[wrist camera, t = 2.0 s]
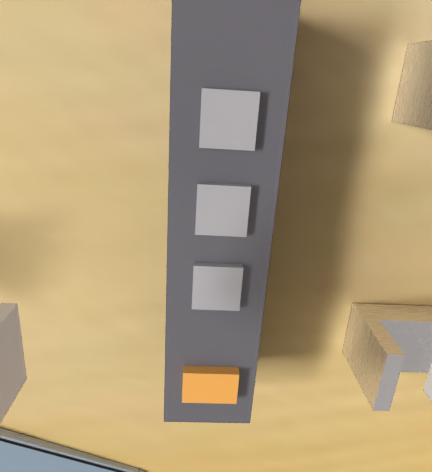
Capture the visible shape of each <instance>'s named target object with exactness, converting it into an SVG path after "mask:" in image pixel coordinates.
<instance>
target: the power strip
mask: <svg viewBox="0 0 432 472" xmlns="http://www.w3.org/2000/svg"><path fill="white" fill-rule="evenodd" d="M300 4H301V0H172V28H171V80H170V131H169V183H168V234H167V286H166V337H165V388H164V422H212V423H250V418H251V410H252V402H253V393H254V385H255V377H256V369H257V360H258V352H259V344H260V335H261V327H262V319H263V311H264V302H265V294H266V286H267V278H268V269H269V261H270V253H271V244H272V236H273V228H274V220H275V211H276V203H277V195H278V187H279V178H280V170H281V162H282V153H283V145H284V137H285V129H286V120H287V112H288V104H289V96H290V87H291V79H292V71H293V62H294V54H295V46H296V38H297V29H298V21H299V13H300Z"/></svg>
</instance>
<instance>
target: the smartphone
mask: <svg viewBox="0 0 432 472" xmlns="http://www.w3.org/2000/svg"><path fill="white" fill-rule="evenodd" d="M0 472H145V471H143V470H141V469H138V468H135V467H131V466H128V465H125V464H121V463H118V462H115V461H111V460H108V459H104V458H101V457H97V456H94V455H91V454H88V453H84V452H81V451H78V450H74V449H71V448H67V447H64V446H61V445H57V444H54V443H51V442H47V441H44V440H41V439H37V438H34V437H30V436H27V435H24V434H20V433H17V432H14V431H10V430H7V429H3V428H0Z"/></svg>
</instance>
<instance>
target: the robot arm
mask: <svg viewBox="0 0 432 472" xmlns="http://www.w3.org/2000/svg"><path fill="white" fill-rule="evenodd" d="M26 379H27V376H26V368H25V360H24V352H23V344H22V336H21V328H20V321H19V313H18V305H17V304H13V303H0V423H1V422H2V420H3V418H4V417H5V415H6V413H7V411H8V410H9V408H10V406H11V405H12V403H13V401H14V400H15V398H16V396H17V394H18V393H19V391H20V389H21V388H22V386H23V384H24V383H25V381H26ZM423 391H424V392H425V393H426V395H427V396H428V398H429V399H430V400H431V402H432V363H431V367H430V370H429V373H428V376H427V380H426V383H425V386H424V389H423Z"/></svg>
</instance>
